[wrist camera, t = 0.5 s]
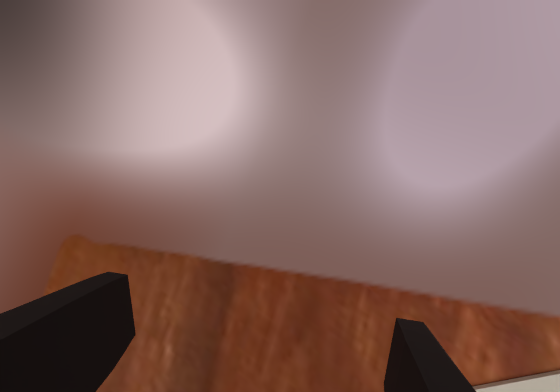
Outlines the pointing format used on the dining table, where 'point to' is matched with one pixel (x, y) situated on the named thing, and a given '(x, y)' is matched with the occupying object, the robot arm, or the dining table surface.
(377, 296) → the dining table surface
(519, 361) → the dining table surface
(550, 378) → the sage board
